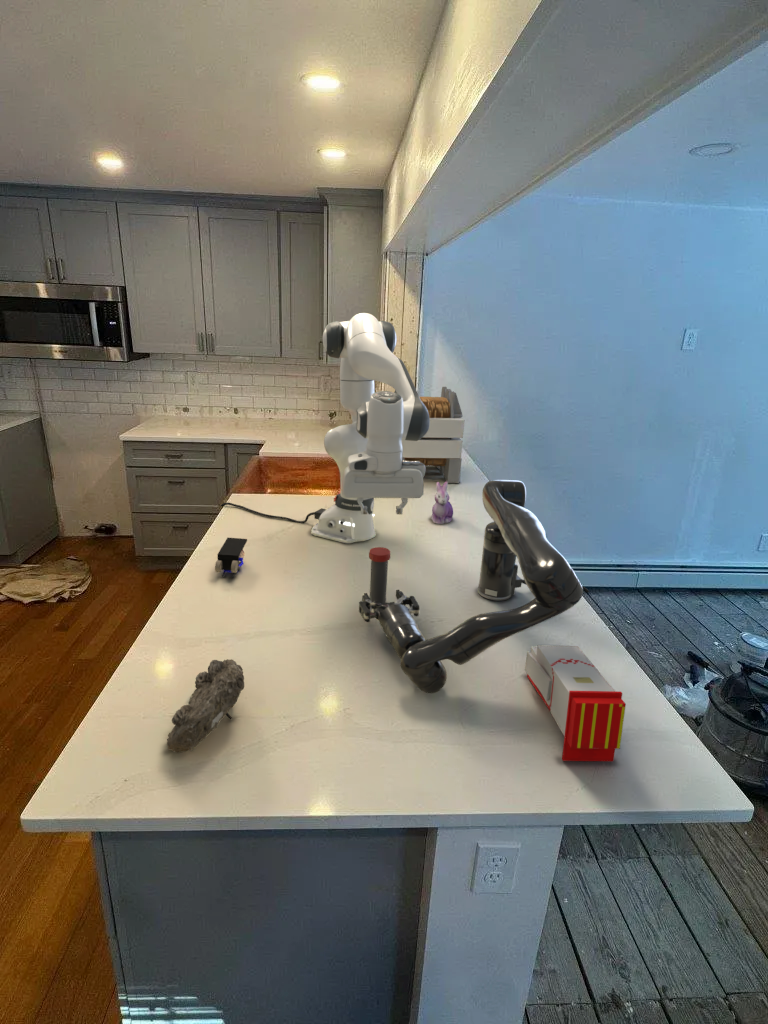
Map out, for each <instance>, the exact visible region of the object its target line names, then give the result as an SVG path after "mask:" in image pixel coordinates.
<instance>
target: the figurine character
mask: <svg viewBox="0 0 768 1024" xmlns="http://www.w3.org/2000/svg"><path fill="white" fill-rule="evenodd" d="M247 542H248V538H240V537H226V539H225V541H224V543H223V544H222V546H221V547H220V549H219V551H218V552H217V560H216V562H215V564H214V572H215V573H221V577H222V578H224V577H225V576H226V574H227V573H230V574H231V573H232V574H231V578H234V577H235V575H236V573H237V572H239V571H240V567H242V566H243V565H244V564H245V562H244V558H245V551H244V547H245V546H246V544H247Z"/></svg>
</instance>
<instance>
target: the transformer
mask: <svg viewBox="0 0 768 1024" xmlns="http://www.w3.org/2000/svg"><path fill="white" fill-rule="evenodd" d="M394 393H397V392H396V390H395V389H394ZM440 393H441V394H440V396H419V397H420V399H421V401H422V402H423V404H424V405H425V406H426V408H427V410H428V413H429V419H430V425H429V430H428V432H427V433H426V434H425V435H424V436H423V437H422V438H421V439H419V440H418V441H408V440H402V446H403V453H402V461H420V463H423V464H424V465H425V467H436V468H437V470H438V469H439V473H440V474H441V475H443V478H444V479H445V482H446V481H447V482H448V484H455V483H456V484H459V483H461V472H462V461H463V460H462V453H463V442H464V441H463V440H462V439H463V438H464V431H465V430H464V429H465V419H464V418H463V411H462V408H461V405H460V402H459V398H458V395H457V392H455V391H453V390H452V389H451V388H447V386H442V387H441V392H440ZM420 465H421V464H420Z"/></svg>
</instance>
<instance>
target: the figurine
mask: <svg viewBox="0 0 768 1024" xmlns="http://www.w3.org/2000/svg"><path fill="white" fill-rule="evenodd" d="M448 486H449V483H448V482H447V481H446V480H445V481H444V483H443V484H442V485H441V484H440V482H439V481H437V482H435V487H436V492H435V493H434V494H435V495H434V501H435V503H434V504H433V506H432V509H431V513H432V514H431V517H430V519H431V520H432V522H433V523H434V524H439V525H443V524H448V523H450V522H452V520H453V516H454V507H453V505H452V504H451V502H450V501H449V500H450V494H449V492H448Z"/></svg>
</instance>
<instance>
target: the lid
mask: <svg viewBox="0 0 768 1024" xmlns="http://www.w3.org/2000/svg"><path fill="white" fill-rule="evenodd" d="M368 558H369V560H370V561H371V560H372V561H375V562H386V561H388V562H389V561H390V559H391V550H390V549H389V548H386V547H383V546H378V547H377V546H375V547H372V548H370V549H369V552H368Z"/></svg>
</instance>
